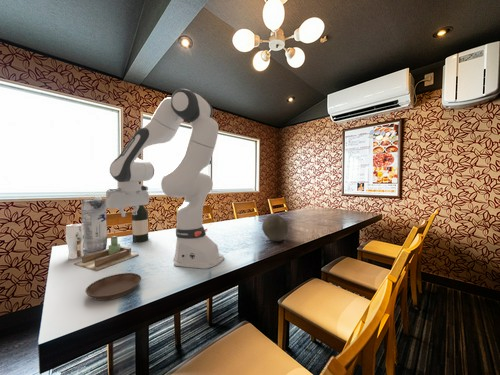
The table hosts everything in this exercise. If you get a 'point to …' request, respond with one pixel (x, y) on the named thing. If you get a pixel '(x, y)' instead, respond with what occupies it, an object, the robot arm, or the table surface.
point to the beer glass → (75, 240)
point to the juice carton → (94, 224)
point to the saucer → (113, 286)
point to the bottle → (114, 246)
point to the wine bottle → (140, 225)
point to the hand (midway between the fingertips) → (129, 215)
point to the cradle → (105, 258)
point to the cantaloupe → (275, 228)
